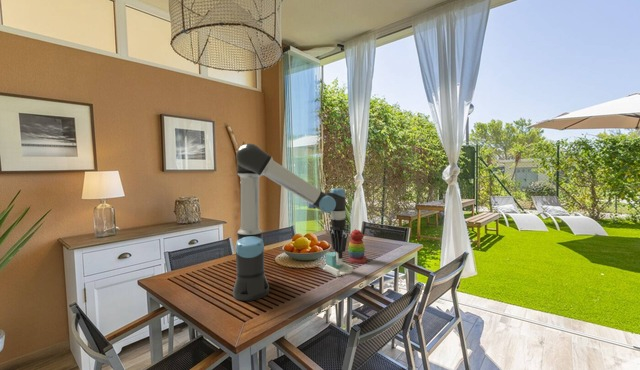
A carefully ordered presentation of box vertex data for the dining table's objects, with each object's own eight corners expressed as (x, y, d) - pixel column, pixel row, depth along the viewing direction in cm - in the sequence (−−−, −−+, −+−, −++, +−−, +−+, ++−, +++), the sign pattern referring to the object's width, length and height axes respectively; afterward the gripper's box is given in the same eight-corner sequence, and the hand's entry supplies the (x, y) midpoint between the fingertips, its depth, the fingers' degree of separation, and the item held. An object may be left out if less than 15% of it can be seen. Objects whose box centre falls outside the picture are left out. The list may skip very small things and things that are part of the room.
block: (332, 269, 147) (332, 256, 146) (325, 266, 152) (325, 253, 151) (341, 267, 150) (341, 254, 149) (334, 264, 155) (334, 251, 154)
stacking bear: (366, 264, 157) (365, 232, 156) (347, 263, 159) (347, 231, 158) (366, 257, 168) (365, 228, 167) (349, 257, 170) (348, 227, 169)
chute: (337, 276, 140) (337, 270, 139) (315, 265, 156) (315, 260, 156) (353, 272, 145) (353, 266, 145) (330, 262, 162) (330, 256, 162)
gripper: (352, 219, 142) (352, 266, 143) (336, 216, 153) (337, 259, 154) (340, 221, 138) (341, 269, 139) (325, 217, 148) (326, 262, 150)
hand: (339, 264), depth 146 cm, fingers closed
